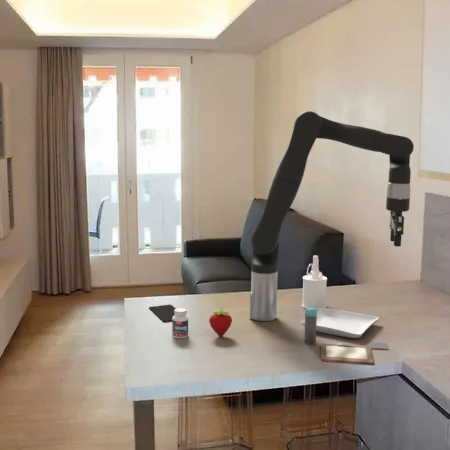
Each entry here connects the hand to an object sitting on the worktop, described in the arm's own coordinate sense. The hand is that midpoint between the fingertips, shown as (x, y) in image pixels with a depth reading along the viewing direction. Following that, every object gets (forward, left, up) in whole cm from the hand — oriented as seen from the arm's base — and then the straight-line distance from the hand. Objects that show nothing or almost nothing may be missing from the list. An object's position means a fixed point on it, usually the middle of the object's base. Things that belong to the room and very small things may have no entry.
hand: (395, 243), depth 204 cm
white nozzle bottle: (-26, +17, -29) cm, 43 cm away
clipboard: (-16, -30, -29) cm, 45 cm away
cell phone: (-79, -2, -30) cm, 85 cm away
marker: (-27, -22, -29) cm, 45 cm away
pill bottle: (-69, -24, -29) cm, 79 cm away
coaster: (-6, -22, -29) cm, 37 cm away
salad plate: (-17, -6, -30) cm, 35 cm away
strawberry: (-56, -22, -29) cm, 67 cm away
